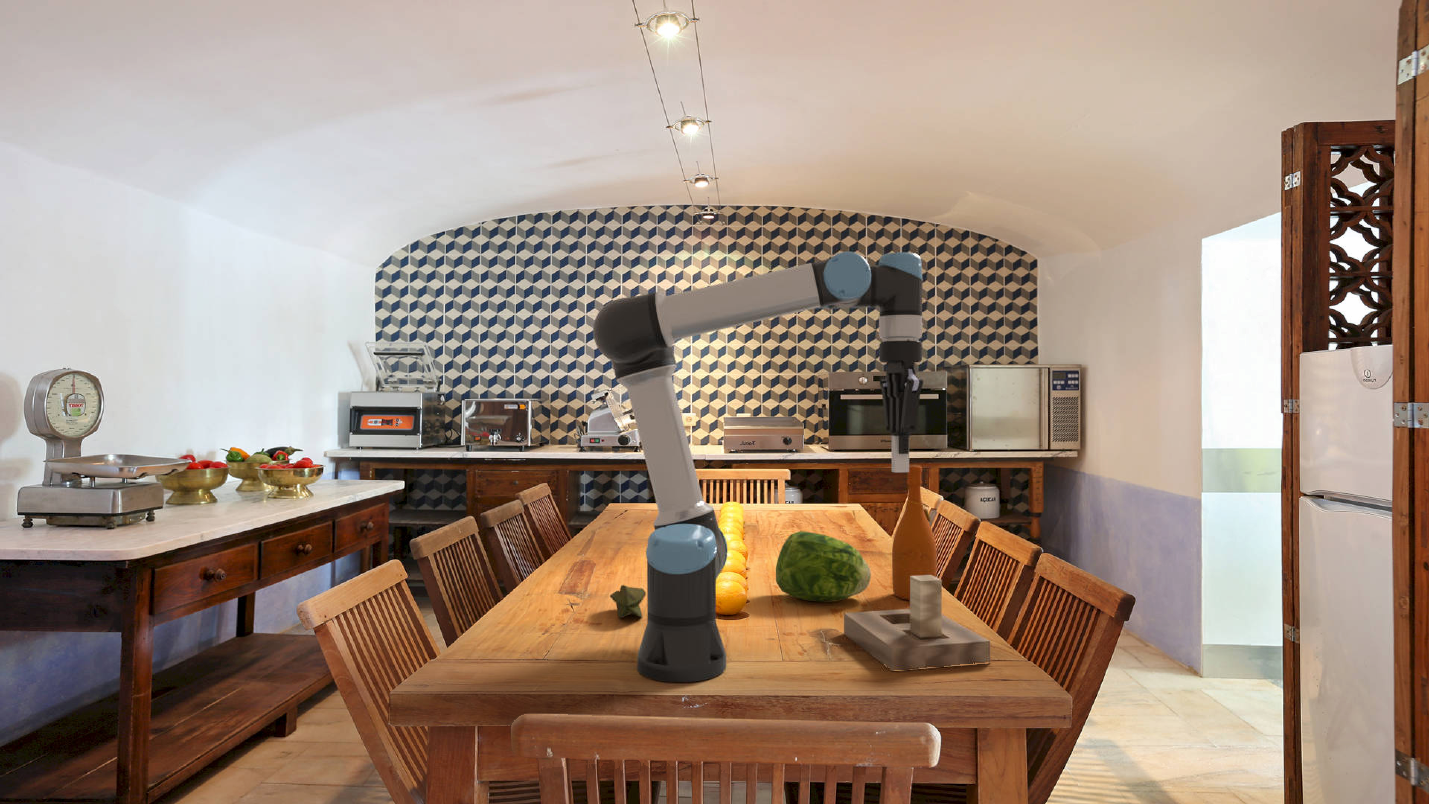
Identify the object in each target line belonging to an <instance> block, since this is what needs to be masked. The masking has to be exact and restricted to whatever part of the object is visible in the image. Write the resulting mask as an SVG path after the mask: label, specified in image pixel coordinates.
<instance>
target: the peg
mask: <svg viewBox="0 0 1429 804" xmlns="http://www.w3.org/2000/svg"><path fill="white" fill-rule="evenodd" d="M942 583H943V580H942V579H940V578H938V577H937V576H936V577H934V576H932V575H920V576H910V600H909V609H910V636H911V637H913V638H914V639H916V640H917V641H920V640H934V639H942V615H943V614H942V611H943V608H942V598H943V596H942V592H943V590H942V587H943V586H942V585H943V584H942Z"/></svg>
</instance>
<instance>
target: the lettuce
mask: <svg viewBox="0 0 1429 804" xmlns="http://www.w3.org/2000/svg"><path fill="white" fill-rule="evenodd" d="M871 576H872V573H871V568H870V566H869V564H868V563H867V561H866V560H865V559H864V557H863V556H862V555H861V553H860V551H859V550H857V548H856V547H854V546H852V545H851V544H850V543H848V542H845V541H842V540H840V539H837V538H835V537H832V536H829V535H825V534H821V533H816V532H810V531H806V530H805V531H803V530H800V531H797V532H794V533H792V534H790V535H789V536H788V538H786V540H785V541H784V543H783V545H782V547H781V549H780V551H779V554H778V558H777V561H776V566H775V582H776V584H777V585H778V587H779V588H780V591H782V593H785V594H787V595H789V596H791V597H793V598H797V599H799V600H803V601H809V602H828V603H829V602H837V601H842V600H845V599H848V598H850V597H853V596H855V595H859V594H861V593H863V592H864V591H865V590H866V589H867V588H868V587H869V585H870V581H871V578H872V577H871Z"/></svg>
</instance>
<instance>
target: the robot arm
mask: <svg viewBox="0 0 1429 804" xmlns="http://www.w3.org/2000/svg"><path fill="white" fill-rule="evenodd" d="M922 263H923V262H922V258H921V257H920V256H919V255H918V254H917V253H914V252H906V251H905V252H903V251H902V252H900V251H899V252H894V253H893V252H889V253H885V254H883V255H881V256H880V257H879V262H878V265H870V264H869V263H868V261H867V259H866V258H865V257H863V256H862V255H861V254H858V253H857V252H854V251H843V252H842V251H841V252H839V253H837V254H835V255H833V256H831V258H827V259H823V260H819V261H815V262H809V263H804V264H801V265H796V266H792V267H788V268H784V269H779V270H778V269H777V270H774V271H770V272H767V273H766V272H765V273H761V274H757V275H753V276H748V277H744V278H740V279H735V280H731V281H728V282H727V281H726V282H722V283H717V284H713V285H710V286H704V287H700V288H696V289H692V290H688V291H682V292H678V293H674V294H670V295H665V294H664V293H662V292H660V291H655V292H652V293H646V294H642V295H641V294H640V295H634V296H628V297H621V298H616V299H614V300H611V301H610V302H608V303H606V304H605V305H604V306H603V307H602V308H600V310H599V311H598V313H597V314H596V317H595V319H594V323H593V326H592V327H593V329H592V334H593V340H594V342H595V345H596V347H597V348H598V351H599V352H600V353H601V354H602V355H603V356H604V357H605V358H606V359H608V360H610V361H611V364H612V369H613V372H614V375H615V379H616V382H617V383H619V384H620V385H622V386H623V387H625V389H626V390H627V395H628V397H629V398H628V399H629V400H630V406H631V410H632V413H633V417H634V421H635V424H636V428H637V432H638V436H639V441H640V444H641V447H642V452H643V456H644V460H645V464H646V467H647V472H648V476H649V479H650V483H651V486H652V490H653V494H654V499H655V503H656V507H657V510H658V513H657V516H656V518H655V519H654V521H653V529H654V530H653V531H652V532H651V533H650V535H648V538H647V547H646V550H645V555H646V557H645V558H646V564H647V565H646V568H647V569H646V578H647V581H646V582H647V583H646V585H647V586H646V587H647V588H646V589H647V590H646V596H647V599H646V600H647V601H646V602H647V603H646V605H647V607H646V608H647V620H646V621H647V624H646V625H645V629H644V633H643V635H642V639H641V643H640V645H639V649H638V652H637V657H636V658H637V659H636V666H637V667H636V669H637V671H638V673H639V672H640V673H639V674H640V675H642V676H643V677H645V678H648V679H651V680H655V681H660V682H668V683H691V682H692V683H693V682H700V681H705V680H709V679H713V678H715V677H717V676H720V675H721V674H723V673H724V672H725V671H726V669H727V652H726V649H725V647H724V643H723V640H722V636H721V634H720V631H719V628H718V624H717V612H716V611H717V609H716V608H717V597H716V596H717V595H716V593H717V591H716V590H717V585H716V584H717V579H718V577H719V575H720V574H721V573H722V571H723V569H724V567H725V565H726V562H727V559H728V542H727V539H726V537H725V535H724V533H723V532H722V530H721V528H720V527H719V524H718V519H717V516H716V512H715V508H714V506H712V505H711V504H708V503H707V502H706V501H704V497H703V495H702V490H701V487H700V483H699V479H698V475H697V471H696V466H695V463H694V460H693V456H692V452H691V447H690V445H689V444H690V443H689V441H688V440H689V439H688V437H687V432H686V428H685V424H684V421H683V417H682V413H681V409H680V405H679V402H678V398H677V394H676V390H675V385H674V382H673V379H672V377H673V374H674V372H675V371H676V369H677V367H678V366H677V362H676V358H675V353H674V348H673V345H674V343H676V341H677V340H681V339H685V338H690V337H694V336H698V335H704V334H708V333H712V332H717V331H720V330H726V329H730V328H733V327H738V326H742V325H747V324H751V323H757V322H761V321H765V320H769V319H773V318H779V317H782V316H786V315H787V316H788V315H792V314H796V313H800V312H804V311H805V312H806V311H809V310H813V309H814V310H815V309H829V310H834V309H865V308H866V309H867V308H870V309H874V308H878V309H879V316H878V338H879V339H880V340H882V341H880V343H879V345H878V349H879V353H878V354H879V355H878V358H879V359H878V361H879V362H880V363H883V364H887V366H886V371H885V379H880V380H879V386H880V390H881V395H882V404H883V415H884V417H883V419H884V427H885V431H886V432H889V435H890V436H891V472H892V473H907V472H909V466H910V436H912V434H913V433H916V431H917V424H918V423H917V422H918V415H919V408H920V407H919V406H920V400H921V399H920V397H921V392H922V388H923V385H924V380H923V378H918V377H916V375H917V373H916V366H915V363H920V362H922V361H923V343H922V342H921V341H919V339H922V338H923V328H924V323H923V285H924V284H923V281H924V278H923V269H922V265H923V264H922ZM724 670H725V671H724ZM723 671H724V672H723ZM722 672H723V673H722ZM719 674H720V675H719Z"/></svg>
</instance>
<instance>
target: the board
mask: <svg viewBox="0 0 1429 804" xmlns="http://www.w3.org/2000/svg"><path fill="white" fill-rule="evenodd" d="M843 634H844V635H845V636H846V637H848V638H849V639H850V640H851V641H853V642H854V643H855V645H858V647H860V648H861V649H862V650H864V651H865V650H866V651H865V652H867V653H868V654H869V653H870V654H871V655H870V654H869V655H870V656H872V657H873V658H874V659H875V658H876V659H875V660H877V661H878V662H879V661H881V662H882V663H883V664H885V665H886V666H887V667H889V668H890V669H891V670H893V671H894V670H910V669H919V668H927V667H944V666H951V665H960V664H973V663H974V664H975V663H985V662H990V663H991V641H990V640H989V639H987V638H985V637H984V636H982V635H980V634H979V633H977V632H975V631H973V630H971V629H969V628H967V627H965V626H964V625H963V624H960V623H958V622H956V621H955V620H953V619H951V618H949V617H948V616H946V615H944V614H942V639H934V640H920V641H917V640H916V639H914V638H913V637H911V636H910V608H904V609H903V608H900V609H888V610H887V609H886V610H885V609H883V610H871V611H856V612H844V613H843ZM881 662H880V663H881ZM882 663H881V664H882ZM883 664H882V665H883ZM886 666H885V667H886ZM887 667H886V668H887ZM891 670H890V671H891Z"/></svg>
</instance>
